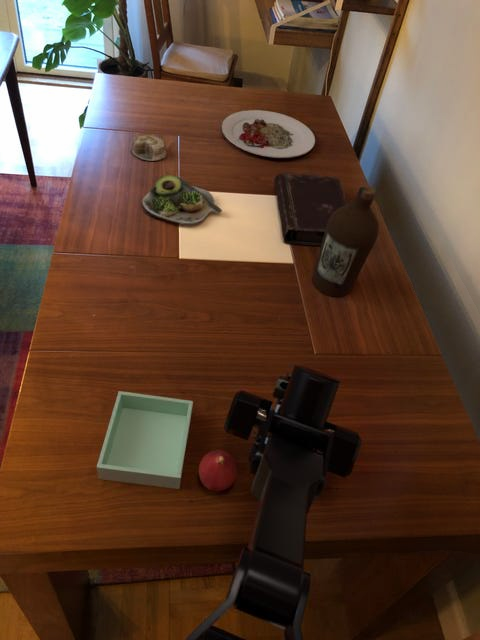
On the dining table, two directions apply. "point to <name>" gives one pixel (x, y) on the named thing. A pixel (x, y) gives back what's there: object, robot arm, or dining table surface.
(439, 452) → the dining table surface
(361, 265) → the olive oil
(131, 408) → the shallow open tray
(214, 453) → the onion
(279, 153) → the plated food
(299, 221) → the diary
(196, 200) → the avocado toast plate
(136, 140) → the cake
